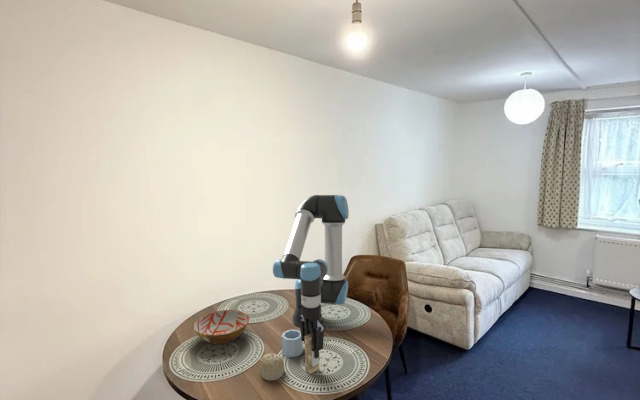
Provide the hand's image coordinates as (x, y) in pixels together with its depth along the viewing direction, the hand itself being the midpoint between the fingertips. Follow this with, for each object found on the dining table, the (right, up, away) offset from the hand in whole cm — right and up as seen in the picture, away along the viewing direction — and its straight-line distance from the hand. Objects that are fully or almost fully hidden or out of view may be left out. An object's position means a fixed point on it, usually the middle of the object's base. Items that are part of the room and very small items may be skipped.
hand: (312, 362), depth 127 cm
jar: (-9, -2, +14) cm, 16 cm away
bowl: (-42, -2, +26) cm, 50 cm away
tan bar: (0, -3, 0) cm, 3 cm away
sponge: (-15, -4, -1) cm, 16 cm away
